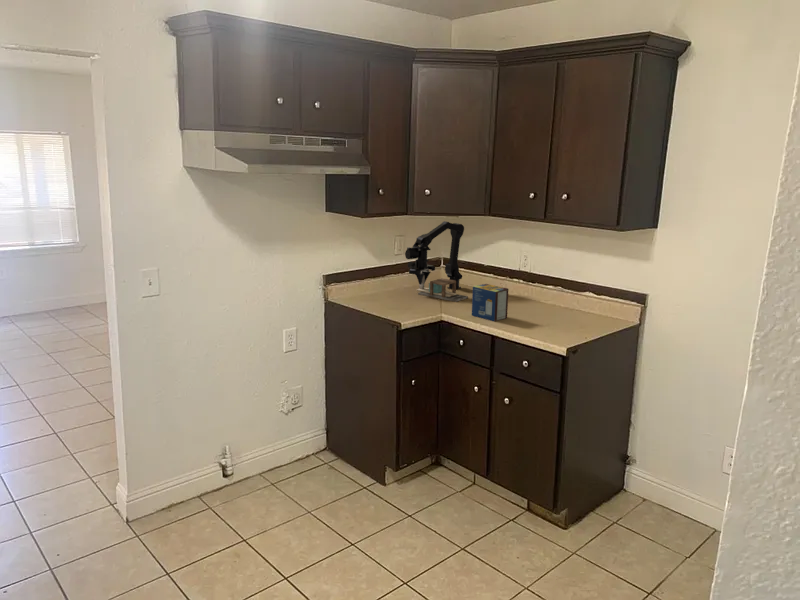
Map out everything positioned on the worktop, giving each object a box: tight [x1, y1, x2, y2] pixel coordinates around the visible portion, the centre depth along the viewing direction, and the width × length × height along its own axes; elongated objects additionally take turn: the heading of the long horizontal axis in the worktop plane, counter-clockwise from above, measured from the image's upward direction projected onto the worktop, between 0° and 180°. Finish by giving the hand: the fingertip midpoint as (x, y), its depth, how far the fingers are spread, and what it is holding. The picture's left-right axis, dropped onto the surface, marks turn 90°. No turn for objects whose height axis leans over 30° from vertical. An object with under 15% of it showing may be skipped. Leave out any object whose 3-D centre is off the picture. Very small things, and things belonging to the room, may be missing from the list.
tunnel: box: [417, 277, 469, 302], centre depth 361 cm, size 12×27×9 cm, turn 51°
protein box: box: [471, 283, 509, 322], centre depth 318 cm, size 10×15×16 cm
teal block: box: [428, 282, 442, 293], centre depth 364 cm, size 6×6×5 cm
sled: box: [415, 275, 458, 297], centre depth 364 cm, size 8×24×9 cm, turn 51°
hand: (421, 283), depth 370 cm, fingers closed on sled, 3 cm apart
